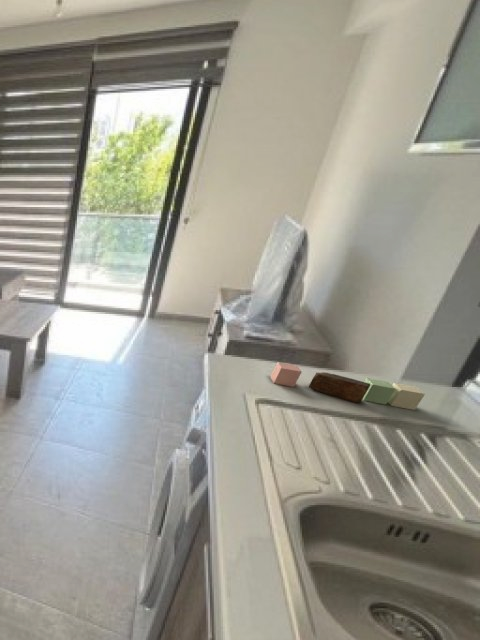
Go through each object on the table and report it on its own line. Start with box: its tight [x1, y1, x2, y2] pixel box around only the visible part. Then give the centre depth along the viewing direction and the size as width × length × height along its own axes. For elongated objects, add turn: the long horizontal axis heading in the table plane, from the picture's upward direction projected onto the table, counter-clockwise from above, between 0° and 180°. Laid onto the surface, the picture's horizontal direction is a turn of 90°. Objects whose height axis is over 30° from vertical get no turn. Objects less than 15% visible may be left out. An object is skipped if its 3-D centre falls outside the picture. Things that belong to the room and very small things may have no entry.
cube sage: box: [362, 377, 395, 405], centre depth 122 cm, size 4×4×4 cm
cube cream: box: [387, 382, 426, 411], centre depth 120 cm, size 4×4×4 cm
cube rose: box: [270, 362, 303, 388], centre depth 129 cm, size 4×4×4 cm
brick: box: [308, 371, 370, 404], centre depth 123 cm, size 11×4×5 cm, turn 40°
